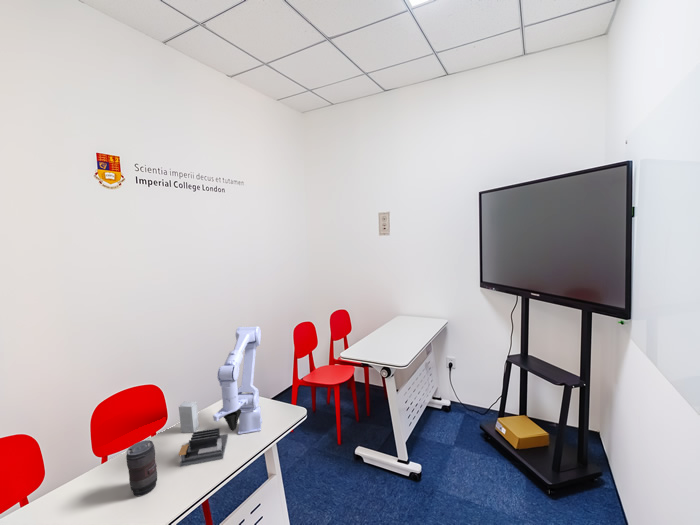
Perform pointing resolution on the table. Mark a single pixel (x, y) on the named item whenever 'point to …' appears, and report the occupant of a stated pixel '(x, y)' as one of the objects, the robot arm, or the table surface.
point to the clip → (211, 448)
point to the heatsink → (202, 447)
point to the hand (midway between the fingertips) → (233, 429)
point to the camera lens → (142, 467)
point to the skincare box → (188, 417)
